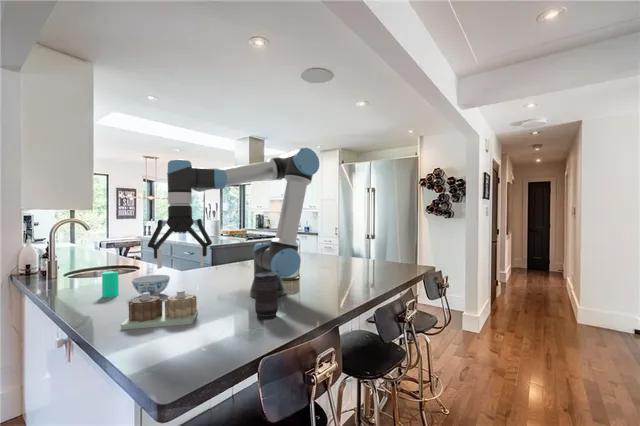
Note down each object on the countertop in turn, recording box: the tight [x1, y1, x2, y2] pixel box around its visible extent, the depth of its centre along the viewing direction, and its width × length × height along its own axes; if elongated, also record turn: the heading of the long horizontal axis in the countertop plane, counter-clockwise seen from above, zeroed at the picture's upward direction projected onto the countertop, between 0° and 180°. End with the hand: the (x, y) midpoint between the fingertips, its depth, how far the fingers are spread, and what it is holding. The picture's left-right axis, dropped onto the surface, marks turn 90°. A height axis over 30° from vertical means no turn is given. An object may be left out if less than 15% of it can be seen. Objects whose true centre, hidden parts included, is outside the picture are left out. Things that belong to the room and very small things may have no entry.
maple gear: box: [164, 293, 198, 319], centre depth 109 cm, size 10×10×6 cm
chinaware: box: [131, 274, 171, 297], centre depth 141 cm, size 15×15×8 cm
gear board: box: [120, 290, 199, 330], centre depth 107 cm, size 21×12×10 cm, turn 103°
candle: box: [101, 268, 119, 299], centre depth 140 cm, size 6×6×12 cm
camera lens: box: [253, 272, 279, 321], centre depth 111 cm, size 8×8×15 cm
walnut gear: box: [128, 296, 163, 322], centre depth 106 cm, size 10×10×6 cm
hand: (181, 267), depth 109 cm, fingers open, 13 cm apart
